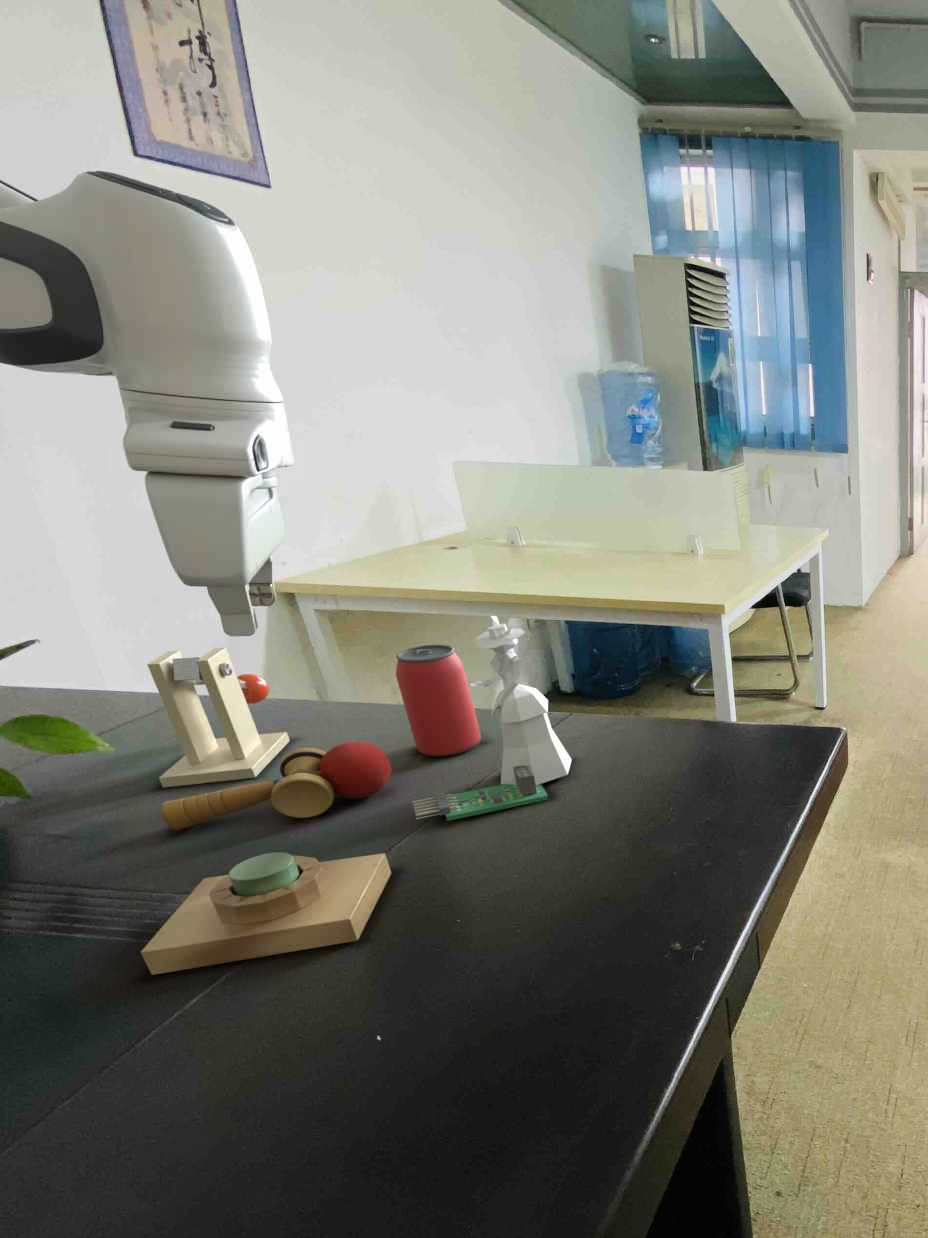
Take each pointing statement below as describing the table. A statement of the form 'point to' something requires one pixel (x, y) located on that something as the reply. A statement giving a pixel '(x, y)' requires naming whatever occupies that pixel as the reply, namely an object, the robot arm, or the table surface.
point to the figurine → (521, 713)
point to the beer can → (437, 700)
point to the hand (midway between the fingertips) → (253, 618)
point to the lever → (190, 675)
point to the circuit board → (485, 798)
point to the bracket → (203, 752)
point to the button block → (270, 915)
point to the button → (264, 874)
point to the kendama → (293, 785)
